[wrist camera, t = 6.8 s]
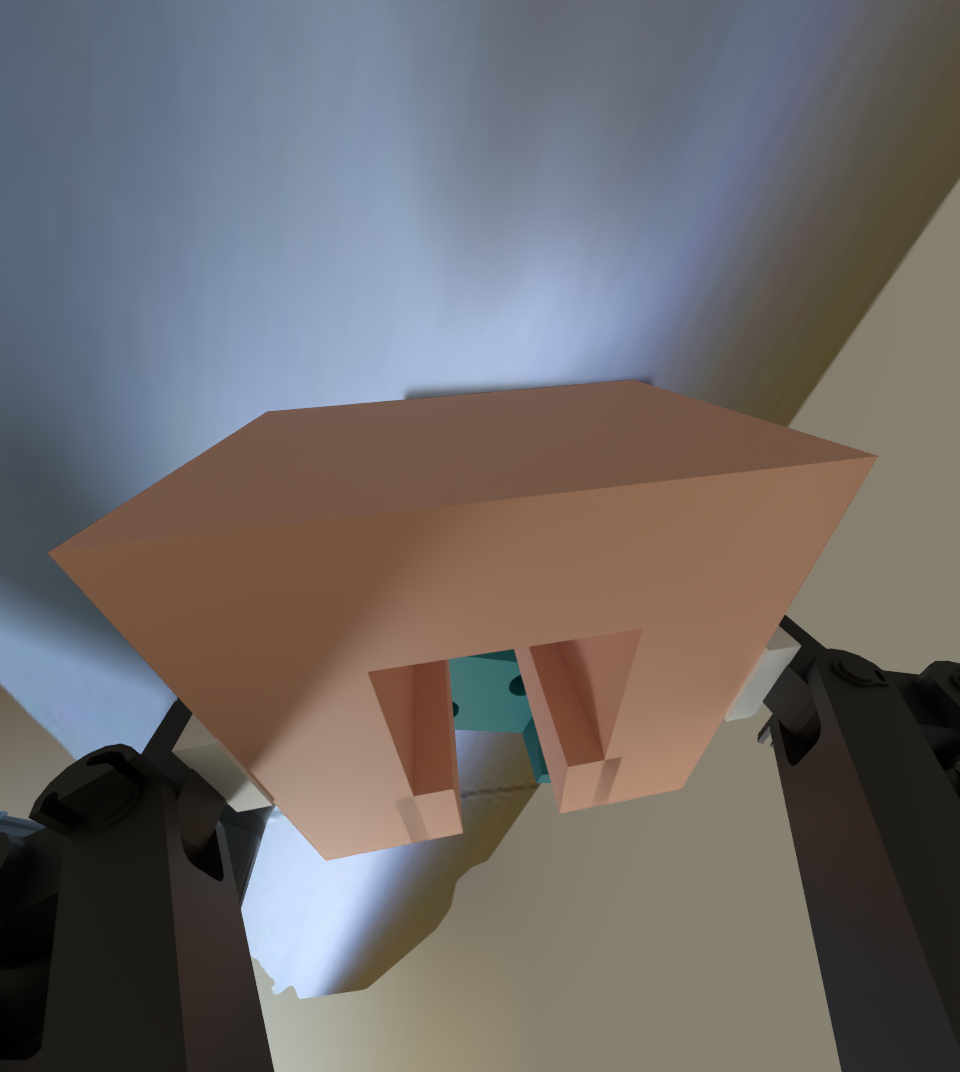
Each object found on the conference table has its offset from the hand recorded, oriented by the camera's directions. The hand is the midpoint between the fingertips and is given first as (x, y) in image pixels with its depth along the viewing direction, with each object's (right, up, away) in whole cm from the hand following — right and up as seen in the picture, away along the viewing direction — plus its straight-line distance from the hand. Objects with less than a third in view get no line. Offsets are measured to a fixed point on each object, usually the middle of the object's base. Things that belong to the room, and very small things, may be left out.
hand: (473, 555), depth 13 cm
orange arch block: (0, 0, 0) cm, 1 cm away
